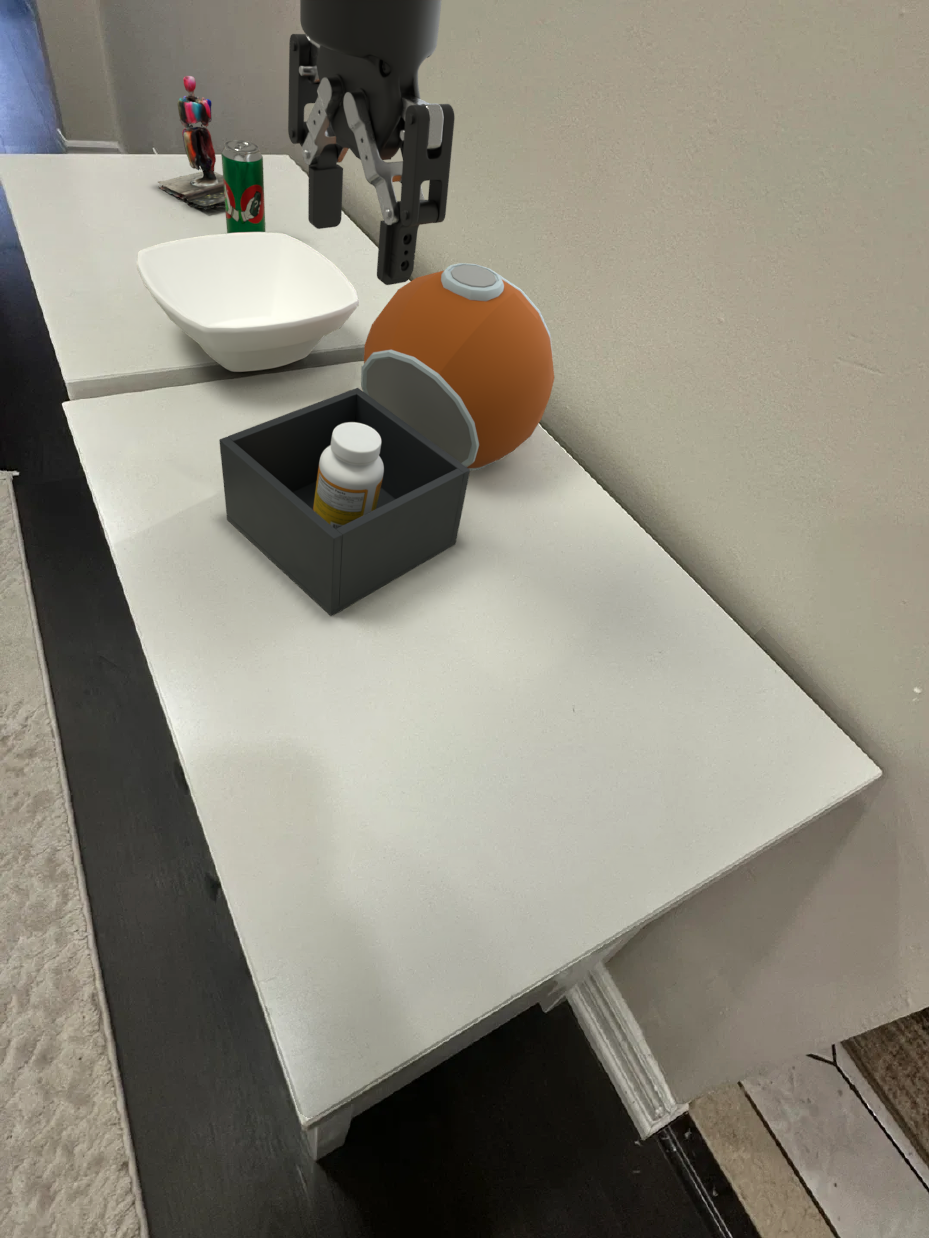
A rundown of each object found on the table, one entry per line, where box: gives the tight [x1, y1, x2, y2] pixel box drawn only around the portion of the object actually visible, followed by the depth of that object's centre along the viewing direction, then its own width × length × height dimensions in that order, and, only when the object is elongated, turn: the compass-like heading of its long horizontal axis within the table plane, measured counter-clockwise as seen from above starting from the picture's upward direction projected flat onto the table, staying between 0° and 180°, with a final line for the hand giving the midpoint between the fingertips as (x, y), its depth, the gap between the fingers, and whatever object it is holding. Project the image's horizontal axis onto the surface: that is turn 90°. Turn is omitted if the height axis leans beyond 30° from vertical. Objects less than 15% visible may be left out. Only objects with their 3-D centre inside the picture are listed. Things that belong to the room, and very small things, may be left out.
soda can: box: [220, 139, 267, 234], centre depth 100 cm, size 5×5×12 cm
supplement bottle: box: [313, 422, 384, 529], centre depth 65 cm, size 5×5×10 cm
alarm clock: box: [360, 262, 555, 471], centre depth 76 cm, size 19×18×17 cm
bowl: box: [136, 231, 360, 373], centre depth 84 cm, size 21×21×9 cm
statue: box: [157, 75, 225, 210], centre depth 108 cm, size 11×9×15 cm
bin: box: [218, 387, 471, 617], centre depth 66 cm, size 15×15×9 cm
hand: (358, 252), depth 51 cm, fingers open, 8 cm apart
